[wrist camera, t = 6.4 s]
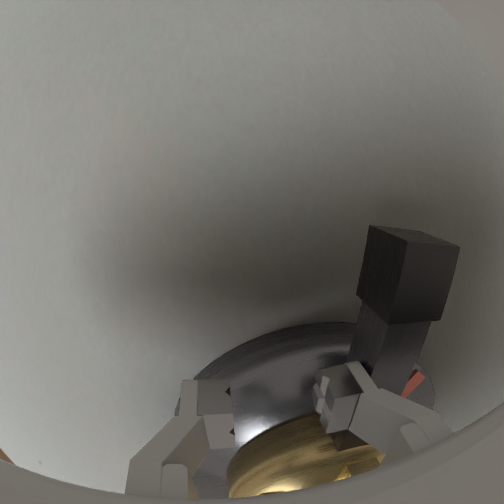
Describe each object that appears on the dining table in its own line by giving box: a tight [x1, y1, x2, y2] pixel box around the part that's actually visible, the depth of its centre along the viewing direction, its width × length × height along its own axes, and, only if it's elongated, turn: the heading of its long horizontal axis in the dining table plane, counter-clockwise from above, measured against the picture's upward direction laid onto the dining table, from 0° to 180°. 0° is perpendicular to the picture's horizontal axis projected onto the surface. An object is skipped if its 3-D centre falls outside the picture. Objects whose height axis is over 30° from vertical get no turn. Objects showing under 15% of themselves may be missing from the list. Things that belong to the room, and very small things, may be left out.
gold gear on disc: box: [175, 322, 434, 499], centre depth 12 cm, size 16×16×10 cm
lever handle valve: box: [226, 225, 460, 498], centre depth 10 cm, size 18×10×4 cm, turn 175°
